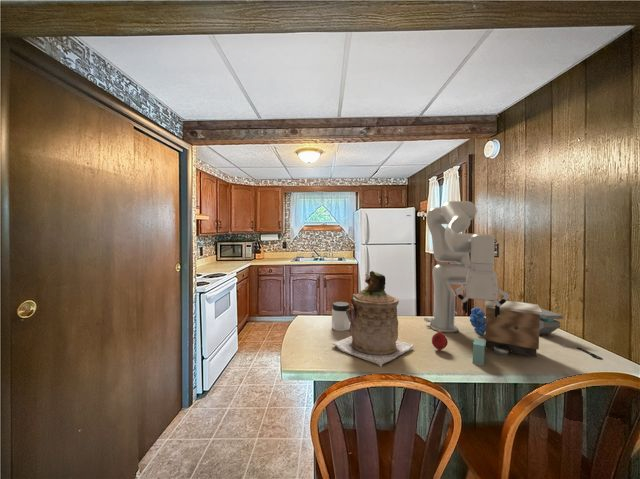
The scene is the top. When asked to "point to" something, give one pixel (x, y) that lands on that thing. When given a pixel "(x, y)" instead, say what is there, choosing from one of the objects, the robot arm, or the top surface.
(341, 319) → the jar
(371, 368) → the top surface
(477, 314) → the grapes
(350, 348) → the cookie jar
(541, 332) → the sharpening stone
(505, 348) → the grey flat rounded lump
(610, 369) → the top surface
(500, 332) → the cabinet
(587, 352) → the cleaver
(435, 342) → the onion
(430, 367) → the top surface
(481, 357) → the sage green block
